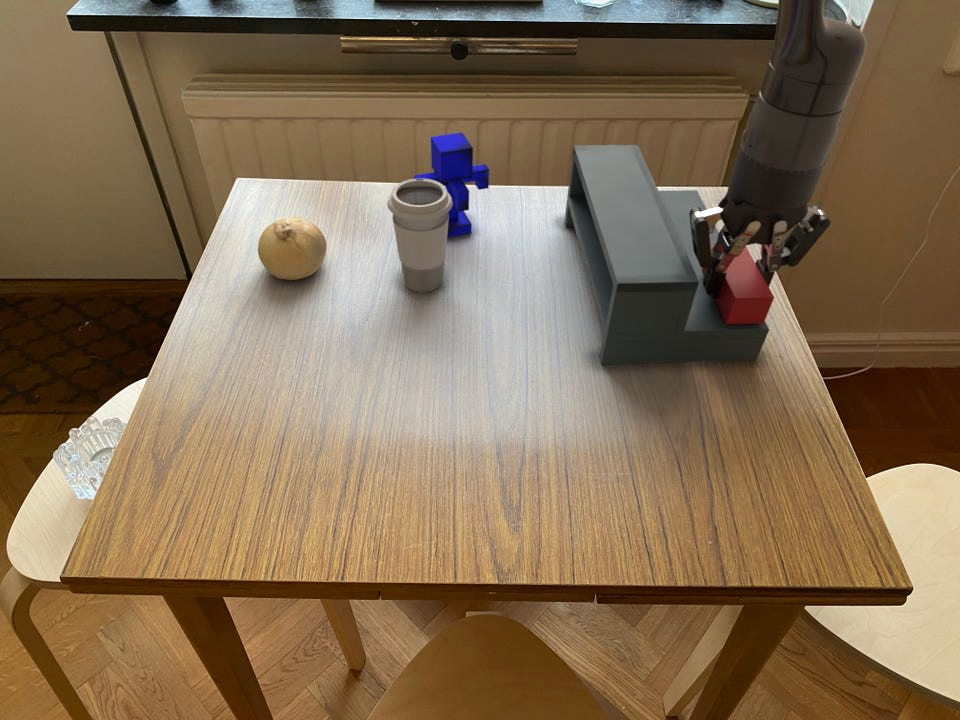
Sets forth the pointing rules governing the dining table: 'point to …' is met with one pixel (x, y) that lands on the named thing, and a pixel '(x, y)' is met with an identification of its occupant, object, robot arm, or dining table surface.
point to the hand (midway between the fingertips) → (732, 293)
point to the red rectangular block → (744, 292)
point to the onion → (292, 248)
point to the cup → (421, 231)
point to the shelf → (647, 265)
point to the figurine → (456, 176)
